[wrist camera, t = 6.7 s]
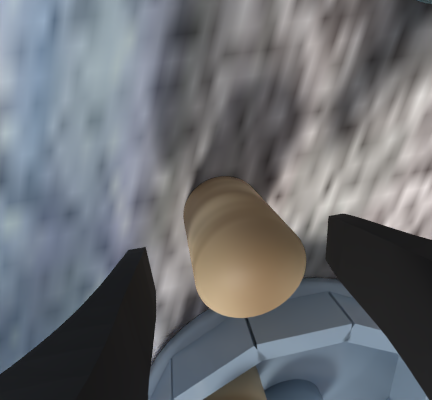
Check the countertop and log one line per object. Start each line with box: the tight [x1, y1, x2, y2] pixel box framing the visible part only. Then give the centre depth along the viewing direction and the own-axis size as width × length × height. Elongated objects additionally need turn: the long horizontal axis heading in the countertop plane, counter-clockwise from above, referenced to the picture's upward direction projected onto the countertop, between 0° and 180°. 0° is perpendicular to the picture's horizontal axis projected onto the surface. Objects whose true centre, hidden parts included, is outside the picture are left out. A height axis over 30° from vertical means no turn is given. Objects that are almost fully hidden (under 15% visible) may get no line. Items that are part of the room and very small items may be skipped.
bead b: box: [184, 176, 306, 318], centre depth 12 cm, size 4×4×5 cm
